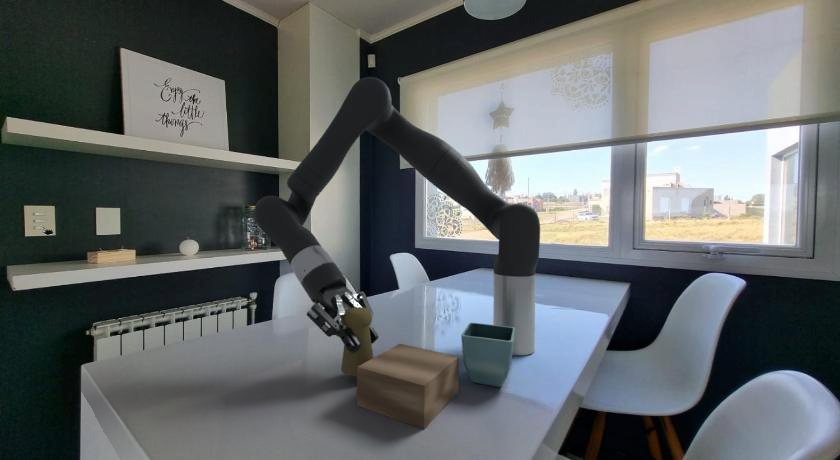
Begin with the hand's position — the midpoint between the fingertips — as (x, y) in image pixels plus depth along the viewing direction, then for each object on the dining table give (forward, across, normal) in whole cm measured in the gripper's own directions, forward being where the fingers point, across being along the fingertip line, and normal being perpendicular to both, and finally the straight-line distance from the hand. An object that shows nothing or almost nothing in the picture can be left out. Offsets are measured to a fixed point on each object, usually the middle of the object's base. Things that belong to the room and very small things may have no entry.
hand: (366, 344), depth 59 cm
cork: (+2, 0, +5) cm, 5 cm away
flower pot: (+18, +12, -9) cm, 23 cm away
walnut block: (+12, -1, -2) cm, 12 cm away
